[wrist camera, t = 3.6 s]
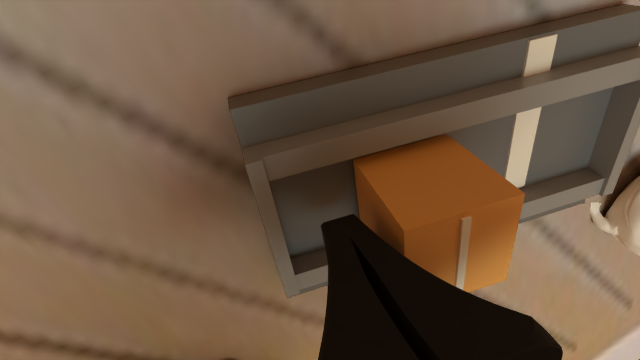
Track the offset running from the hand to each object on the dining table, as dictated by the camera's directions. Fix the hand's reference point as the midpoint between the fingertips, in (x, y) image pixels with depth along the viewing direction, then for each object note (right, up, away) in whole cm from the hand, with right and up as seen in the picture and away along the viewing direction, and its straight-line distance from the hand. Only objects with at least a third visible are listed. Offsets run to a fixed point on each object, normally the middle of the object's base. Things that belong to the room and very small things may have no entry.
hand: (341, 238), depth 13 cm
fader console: (+4, +3, +3) cm, 6 cm away
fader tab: (+3, +2, +2) cm, 4 cm away
